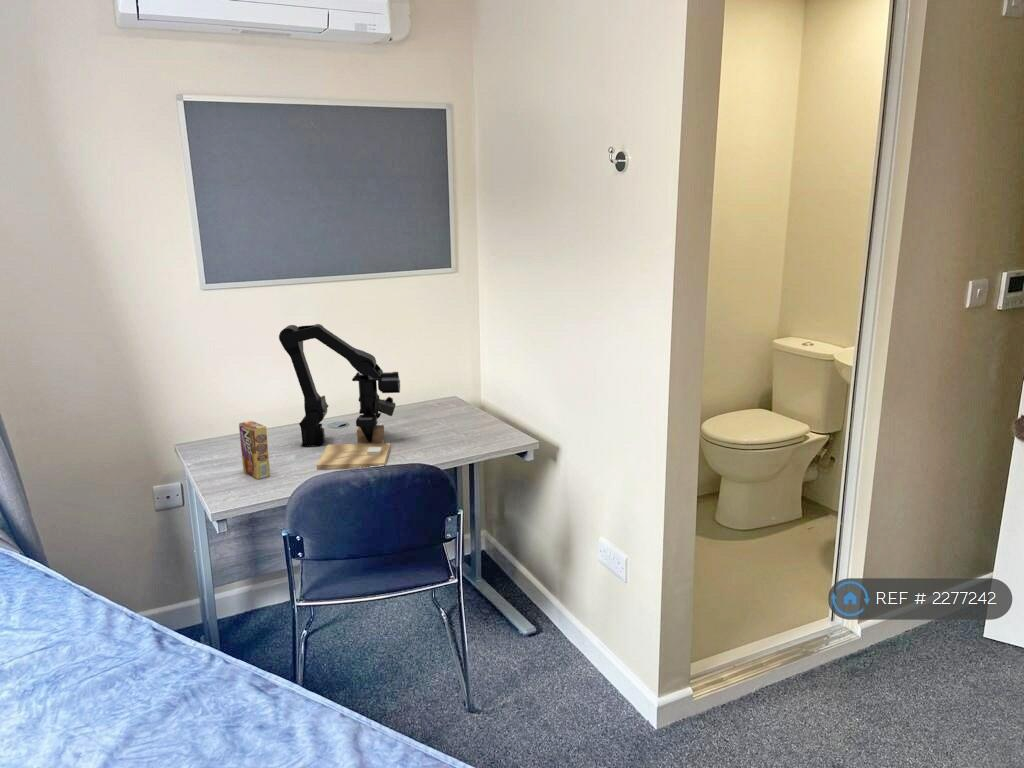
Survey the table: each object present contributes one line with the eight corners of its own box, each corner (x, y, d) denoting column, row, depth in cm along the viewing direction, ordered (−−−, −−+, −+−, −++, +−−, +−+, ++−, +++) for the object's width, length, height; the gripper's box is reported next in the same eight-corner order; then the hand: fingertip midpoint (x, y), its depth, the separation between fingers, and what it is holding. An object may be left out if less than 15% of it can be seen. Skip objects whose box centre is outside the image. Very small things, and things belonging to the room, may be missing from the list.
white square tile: (367, 455, 230) (366, 451, 230) (368, 451, 234) (368, 447, 234) (380, 455, 230) (380, 451, 230) (381, 450, 234) (381, 447, 234)
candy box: (271, 475, 219) (266, 426, 215) (258, 479, 216) (252, 429, 212) (256, 468, 225) (251, 419, 221) (243, 472, 222) (237, 423, 218)
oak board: (316, 469, 223) (316, 464, 223) (328, 449, 240) (327, 444, 240) (384, 467, 224) (384, 463, 224) (390, 447, 241) (390, 443, 241)
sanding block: (357, 444, 244) (356, 430, 243) (360, 439, 249) (359, 425, 248) (382, 444, 244) (381, 429, 243) (384, 439, 249) (383, 425, 248)
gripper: (390, 400, 234) (392, 447, 238) (396, 385, 252) (398, 429, 256) (354, 401, 233) (357, 448, 237) (362, 386, 251) (365, 430, 255)
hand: (371, 438), depth 246 cm, fingers closed on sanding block, 5 cm apart
